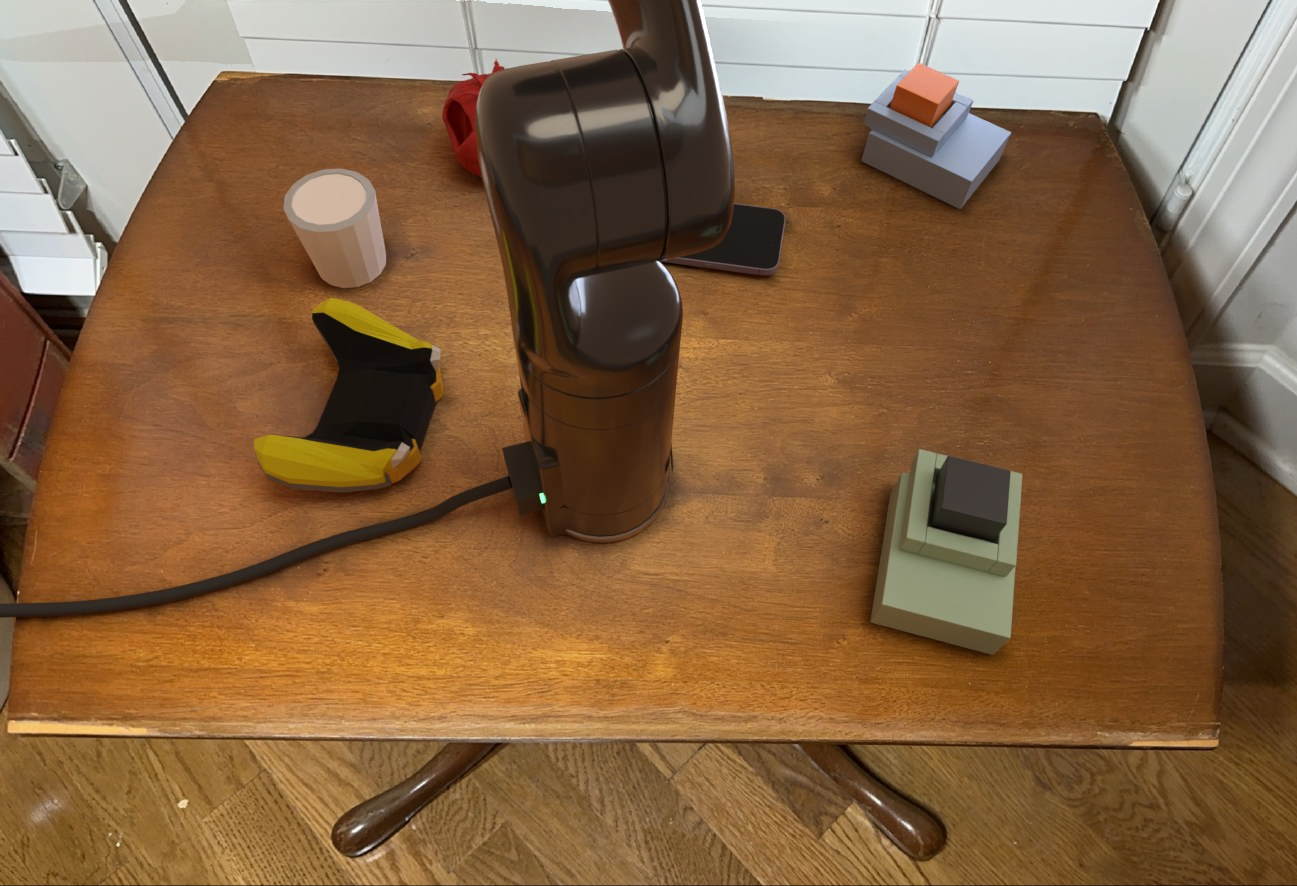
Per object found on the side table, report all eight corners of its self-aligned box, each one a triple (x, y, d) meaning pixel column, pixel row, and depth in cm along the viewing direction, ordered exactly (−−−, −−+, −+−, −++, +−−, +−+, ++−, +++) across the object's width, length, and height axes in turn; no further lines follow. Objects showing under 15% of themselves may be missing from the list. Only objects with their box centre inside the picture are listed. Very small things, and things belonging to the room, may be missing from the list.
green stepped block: (992, 655, 59) (1021, 627, 55) (869, 622, 60) (889, 593, 56) (1004, 510, 65) (1031, 475, 61) (891, 483, 66) (910, 446, 61)
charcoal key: (992, 542, 58) (1007, 524, 56) (929, 526, 59) (941, 508, 57) (997, 489, 60) (1011, 470, 58) (936, 474, 61) (948, 455, 59)
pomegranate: (492, 107, 86) (479, 15, 78) (582, 144, 84) (578, 54, 76) (428, 169, 81) (407, 78, 74) (521, 210, 79) (510, 121, 71)
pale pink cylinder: (386, 224, 78) (367, 159, 72) (401, 283, 74) (382, 219, 68) (304, 242, 76) (277, 177, 71) (315, 302, 73) (288, 239, 67)
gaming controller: (265, 500, 64) (404, 521, 63) (236, 459, 59) (387, 482, 58) (336, 333, 72) (461, 350, 71) (316, 285, 67) (450, 303, 66)
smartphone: (615, 187, 80) (787, 209, 78) (615, 197, 81) (785, 219, 79) (597, 247, 76) (777, 272, 74) (598, 257, 77) (776, 281, 75)
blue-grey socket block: (999, 160, 84) (1019, 115, 80) (960, 209, 81) (979, 165, 76) (893, 111, 87) (907, 65, 83) (851, 157, 84) (864, 111, 80)
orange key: (950, 105, 81) (959, 80, 79) (929, 129, 79) (938, 104, 77) (910, 87, 82) (918, 62, 80) (888, 110, 80) (896, 85, 78)
